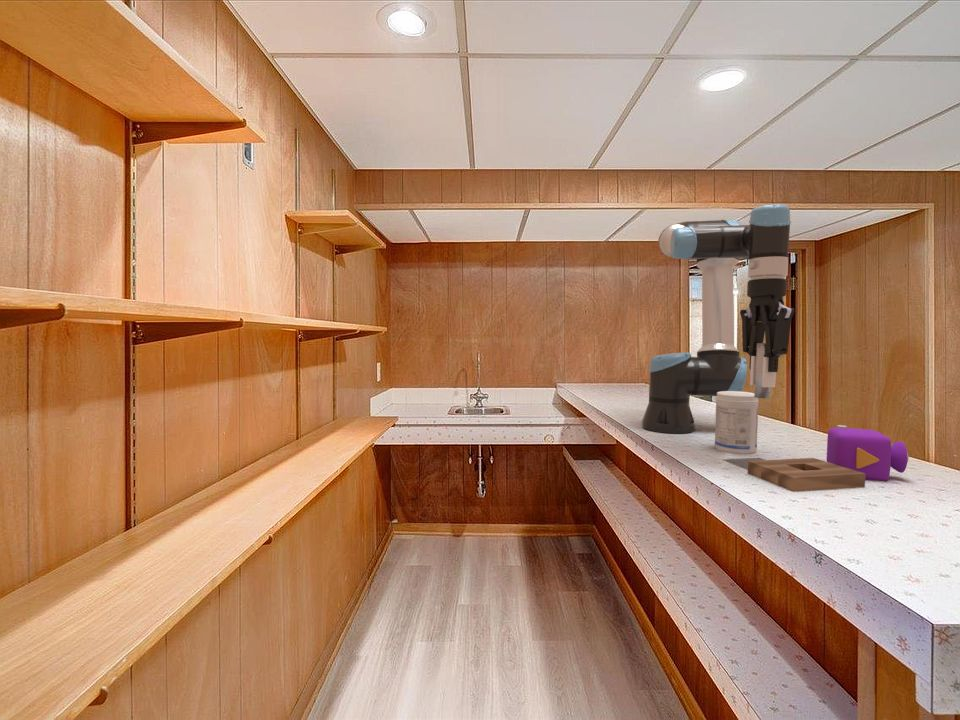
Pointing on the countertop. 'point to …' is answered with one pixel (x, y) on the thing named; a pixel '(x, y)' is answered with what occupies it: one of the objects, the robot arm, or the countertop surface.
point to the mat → (742, 461)
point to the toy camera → (865, 452)
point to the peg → (760, 373)
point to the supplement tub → (736, 422)
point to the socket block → (806, 474)
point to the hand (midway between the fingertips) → (762, 385)
